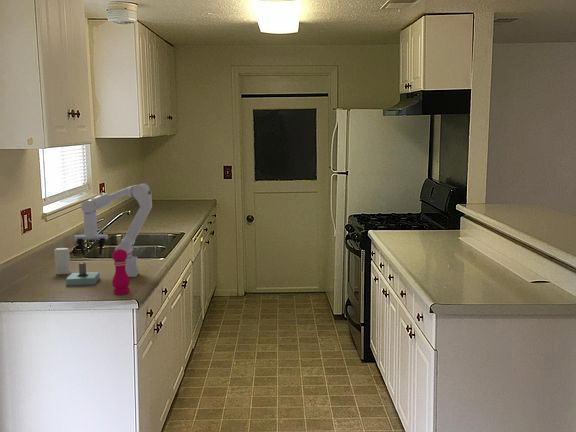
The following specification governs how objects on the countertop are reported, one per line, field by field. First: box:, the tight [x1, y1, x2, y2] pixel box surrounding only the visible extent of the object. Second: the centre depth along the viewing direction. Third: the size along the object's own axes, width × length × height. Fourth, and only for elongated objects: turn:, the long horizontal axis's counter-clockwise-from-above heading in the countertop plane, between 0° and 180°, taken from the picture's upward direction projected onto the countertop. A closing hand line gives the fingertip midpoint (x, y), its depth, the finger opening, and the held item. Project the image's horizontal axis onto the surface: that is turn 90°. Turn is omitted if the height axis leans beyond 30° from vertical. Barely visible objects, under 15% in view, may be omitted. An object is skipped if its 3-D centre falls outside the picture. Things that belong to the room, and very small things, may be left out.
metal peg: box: [78, 262, 87, 277], centre depth 280 cm, size 3×3×8 cm
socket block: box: [65, 271, 100, 287], centre depth 281 cm, size 12×12×3 cm
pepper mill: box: [111, 246, 131, 296], centre depth 261 cm, size 7×7×20 cm
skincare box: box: [53, 247, 72, 275], centre depth 296 cm, size 6×4×12 cm
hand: (92, 254), depth 291 cm, fingers open, 7 cm apart
